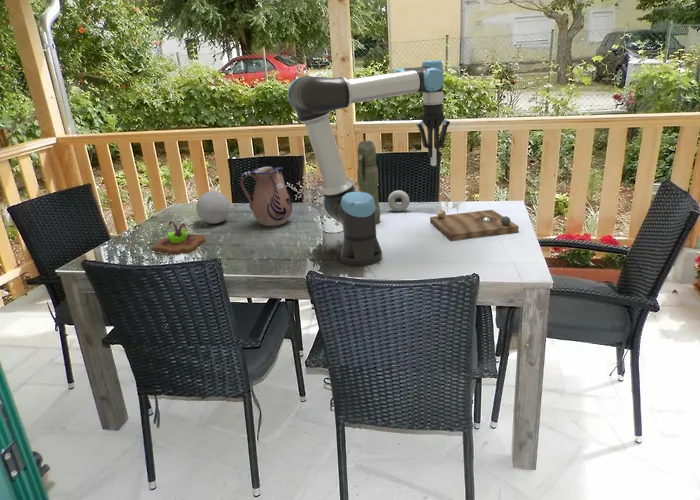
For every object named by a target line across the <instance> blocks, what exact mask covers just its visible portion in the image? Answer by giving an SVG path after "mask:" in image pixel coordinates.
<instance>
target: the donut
mask: <svg viewBox="0 0 700 500" xmlns="http://www.w3.org/2000/svg"><path fill="white" fill-rule="evenodd" d="M398 198H399V199H401V201H402V202H401V203H399V204H398V203H397V201H396V199H398ZM387 204H388V206H389V208H390V209H392V211H394V212H403V211H405V210H407V209H408V207H409V205H410V196H409V195H408V194H407V193H406V192H405V191H403V190H400V189H398V190H393V191H392V192H391V193H390V194H389V196H388V198H387Z"/></svg>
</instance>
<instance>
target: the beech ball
mask: <svg viewBox="0 0 700 500" xmlns="http://www.w3.org/2000/svg"><path fill="white" fill-rule="evenodd" d="M436 214H437V215H436V216H438V217H439V218H444V217H445V215H447V214H446V211H445V210H444V209H440V210H438V211H437V213H436Z"/></svg>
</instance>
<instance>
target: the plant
mask: <svg viewBox="0 0 700 500" xmlns="http://www.w3.org/2000/svg"><path fill="white" fill-rule="evenodd" d="M172 224H173V227H174V230H173V231H174V232H172V231H168V232H167V236H165V237H163V238H162V239H160V240H158V241H155V243H154V245H152V246H151V248H150V249H151V252H152V251H155V252H161V253H168V254H167V255H169V254H170V255H169V256H172V255H171V254H176V255H175V256H179V255H182V254H186V253H187V254H191V253H193V252H192V251H194V252H196V251H197V250H198V249H199V248H200V247H201V246H203V245H204V244H203V243H205V241H206V242H207V240H206V236H205V235H204V234H195V233H191V232H188V230H189V229H188V227H187V223H185V222H183V223H181V224H180V225H179V228H178V226H177V224H175V222H174V221H171V220H170V221H168V222H167V226H171V225H172ZM183 228H184V229H183ZM186 232H187V233H186ZM202 244H203V245H202ZM205 244H206V243H205ZM200 245H201V246H200ZM199 246H200V247H199ZM198 247H199V248H198ZM197 248H198V249H197ZM196 249H197V250H196ZM195 250H196V251H195ZM190 252H191V253H190ZM181 253H182V254H181ZM178 254H179V255H178Z"/></svg>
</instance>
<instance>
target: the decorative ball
mask: <svg viewBox="0 0 700 500" xmlns="http://www.w3.org/2000/svg"><path fill="white" fill-rule="evenodd" d="M196 201H197V202H196V212H197V213H196V214H197V216H198V217H199V218H200V219H201V220H202V221H203V222H204V223H206V224H207V223H208V224H211V225H215V224H216V225H218V224H220V223H222V222H224V221H225V220H226V219H227V218H228V217H229V214H230V211H231V205H230V201H229V199H228V198H227V196H226V195H224V194H223V193H221V192H219V191H215V190H213V191H212V190H211V191H206V192H205V193H203V194H202V195H200V196H199V198H198V199H197V200H196Z"/></svg>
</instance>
